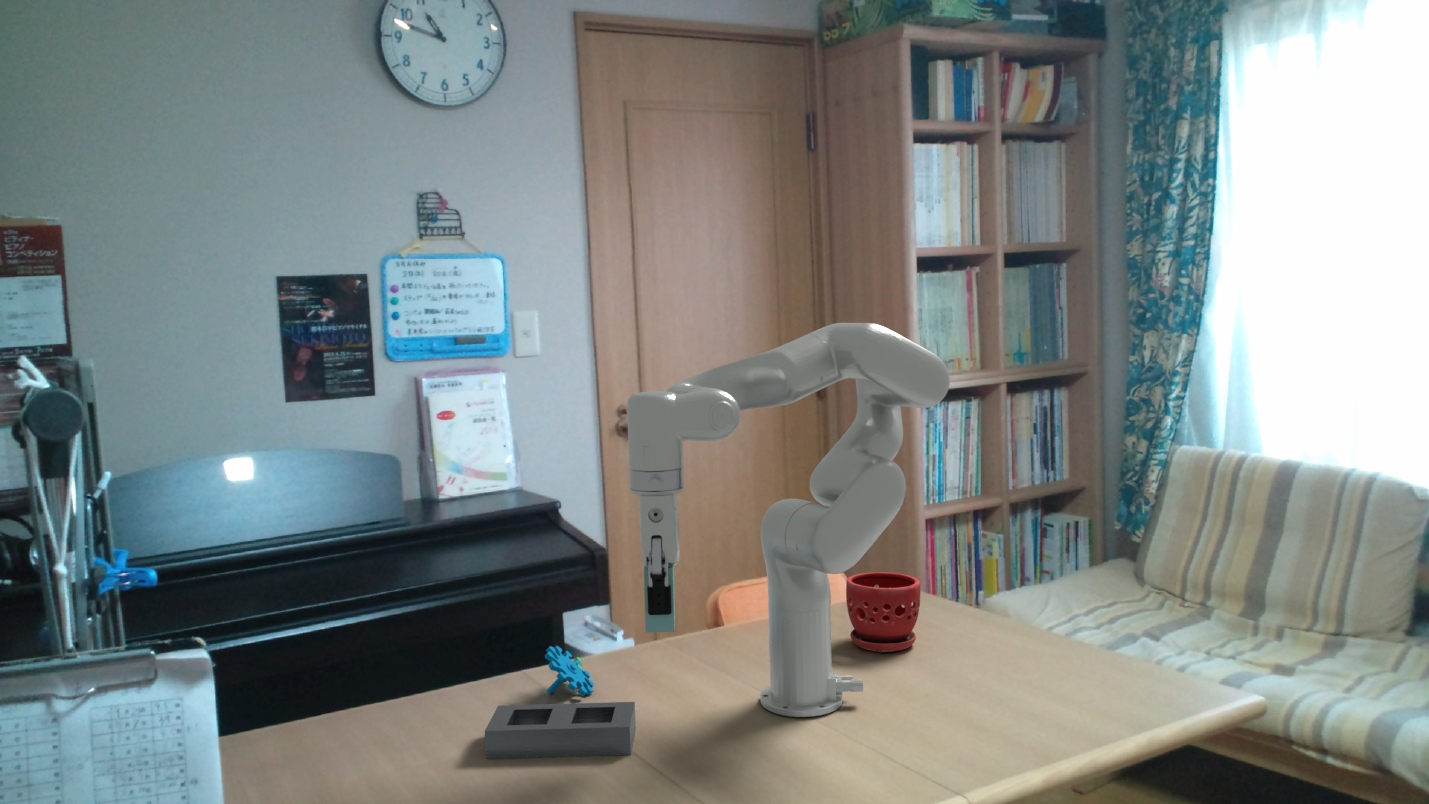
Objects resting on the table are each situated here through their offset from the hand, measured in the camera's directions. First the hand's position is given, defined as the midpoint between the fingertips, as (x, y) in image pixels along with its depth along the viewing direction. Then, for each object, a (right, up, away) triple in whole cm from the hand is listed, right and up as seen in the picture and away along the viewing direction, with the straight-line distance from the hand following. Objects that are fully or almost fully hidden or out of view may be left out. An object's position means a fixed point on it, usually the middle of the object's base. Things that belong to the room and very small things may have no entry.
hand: (660, 608), depth 145 cm
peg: (0, -3, 0) cm, 3 cm away
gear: (-16, -18, +22) cm, 32 cm away
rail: (-14, -20, +2) cm, 24 cm away
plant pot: (+38, -15, +40) cm, 57 cm away
